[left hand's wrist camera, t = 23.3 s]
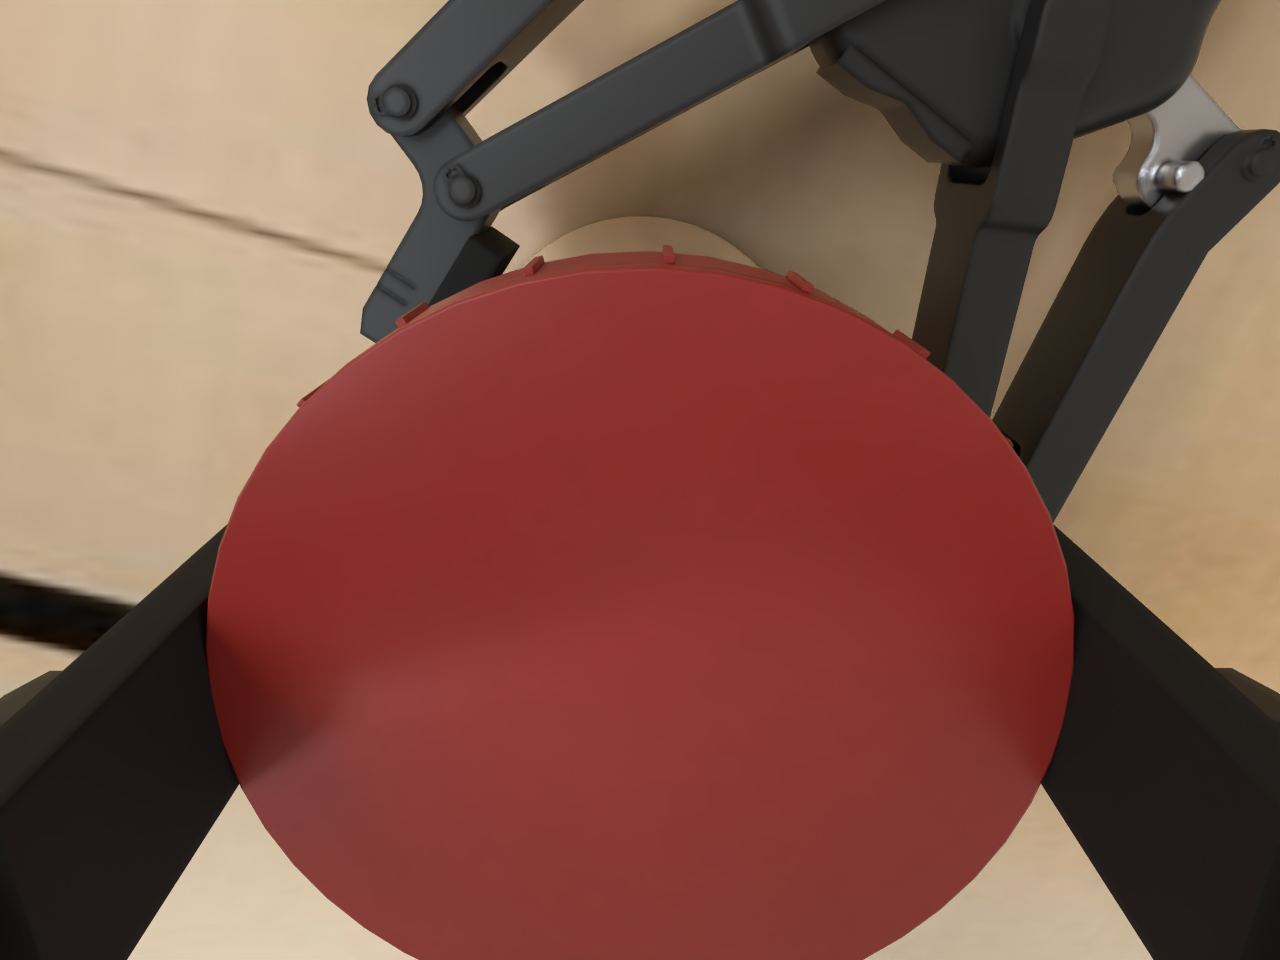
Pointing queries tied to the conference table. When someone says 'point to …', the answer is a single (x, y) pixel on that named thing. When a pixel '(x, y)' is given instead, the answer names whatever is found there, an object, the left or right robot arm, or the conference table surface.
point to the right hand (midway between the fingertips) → (538, 590)
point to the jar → (641, 240)
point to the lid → (640, 624)
